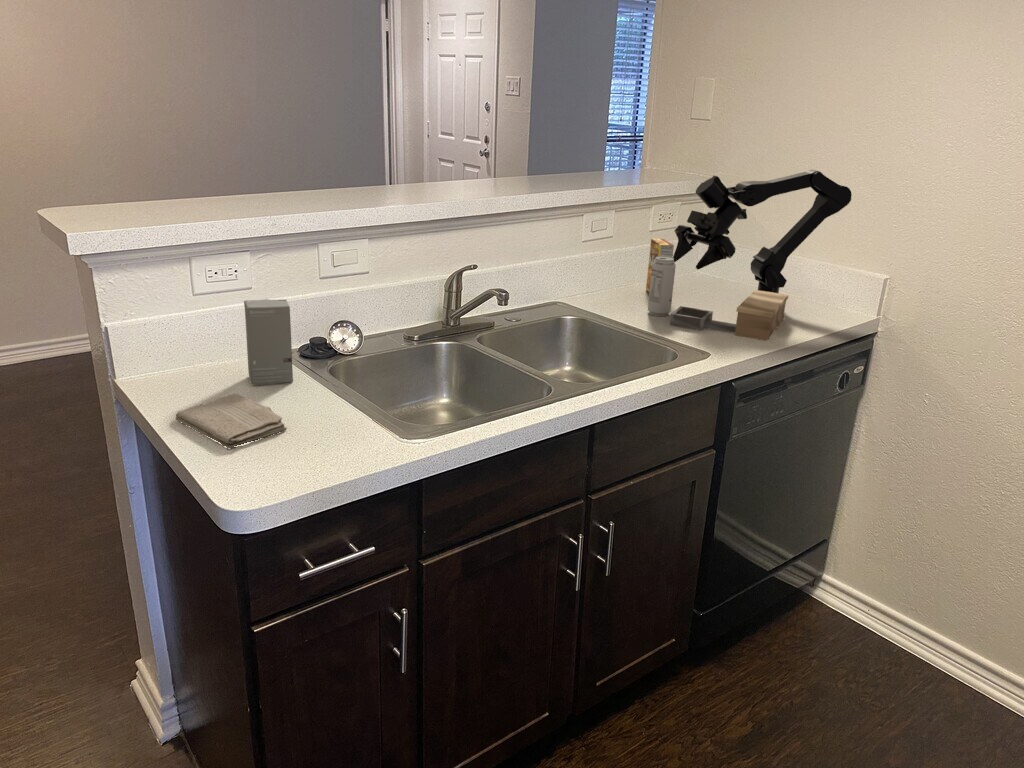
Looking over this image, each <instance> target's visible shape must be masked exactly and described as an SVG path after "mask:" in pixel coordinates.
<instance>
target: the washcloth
mask: <svg viewBox="0 0 1024 768" xmlns="http://www.w3.org/2000/svg"><path fill="white" fill-rule="evenodd" d="M175 420H176V421H177V420H178V421H180V422H179V423H181V422H182V423H181V424H183V423H184V424H185V425H187V426H190V427H191V428H190V429H192V428H193V429H194V430H193V429H192V430H193V431H195V430H196V431H198V432H200V433H201V434H200V433H199V434H200V435H202V434H204V435H206V436H208V437H210V438H212V439H214V440H216V441H218V442H220V443H221V444H222V445H223V446H226V447H227V448H231V449H233V448H235V447H234V446H237V445H241V444H244V443H247V442H251V441H255V440H258V439H260V438H264V439H266V438H265V437H268V436H271V435H273V434H276V435H278V434H277V433H279V432H282V431H284V432H285V431H287V427H286V425H285V424H284V422H283V421H282V420H283V416H280V415H278V414H277V413H275V412H274V411H273V410H272V409H271V407H270V406H265V405H263V404H260V403H258V402H256V401H255V400H253V399H250V398H247V397H245V396H242V395H241V394H239V393H232V394H228V395H225V396H222V397H218V398H216V399H215V400H214V399H213V401H209V402H207V403H205V404H203V403H202V404H197V405H195V406H191V407H188V408H185V409H182V410H180V411H177V412H176V414H175ZM178 421H177V422H178ZM184 424H183V425H184ZM185 425H184V426H185ZM187 426H186V427H187ZM196 431H195V432H196ZM198 432H197V433H198ZM282 433H283V432H282ZM279 434H280V433H279ZM204 435H203V436H204ZM206 436H205V437H206ZM273 436H274V435H273ZM208 437H207V438H208ZM271 437H272V436H271ZM268 438H269V437H268ZM212 439H211V440H212ZM223 446H222V447H223ZM232 447H233V448H232Z"/></svg>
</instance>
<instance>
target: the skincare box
mask: <svg viewBox="0 0 1024 768" xmlns="http://www.w3.org/2000/svg"><path fill="white" fill-rule="evenodd" d="M243 306H244V315H245V316H244V317H245V336H246V352H247V355H246V356H247V366H248V367H247V368H248V369H247V370H248V371H247V372H248V377H249V380H250V384H251V386H252V387H257V386H266V385H276V384H282V383H283V384H284V383H285V382H286V383H293V382H294V375H293V373H294V372H293V370H294V369H293V352H292V351H293V348H292V347H293V346H292V328H291V327H292V326H291V307H290V304H289V303H288V301H287V299H267V298H266V299H250V300H244V301H243Z"/></svg>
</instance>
